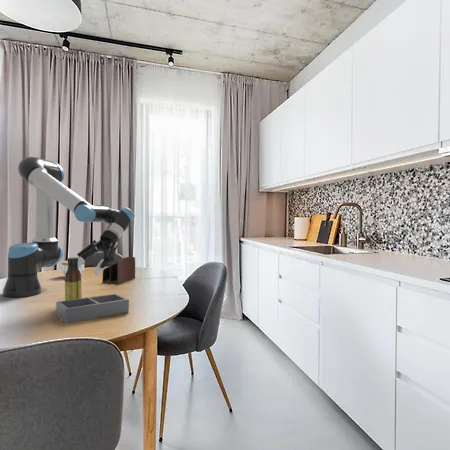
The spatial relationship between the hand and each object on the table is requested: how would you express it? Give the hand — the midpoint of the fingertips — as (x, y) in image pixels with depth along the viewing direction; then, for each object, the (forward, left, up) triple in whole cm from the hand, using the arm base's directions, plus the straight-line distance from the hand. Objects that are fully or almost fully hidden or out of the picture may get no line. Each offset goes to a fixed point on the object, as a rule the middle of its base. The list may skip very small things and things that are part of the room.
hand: (83, 271), depth 135 cm
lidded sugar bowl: (-66, +16, -14) cm, 69 cm away
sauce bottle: (0, -4, -14) cm, 14 cm away
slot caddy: (+16, -2, -14) cm, 21 cm away
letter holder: (-40, +34, -14) cm, 54 cm away
